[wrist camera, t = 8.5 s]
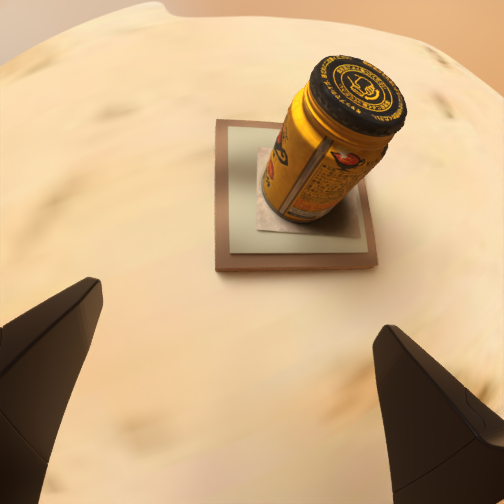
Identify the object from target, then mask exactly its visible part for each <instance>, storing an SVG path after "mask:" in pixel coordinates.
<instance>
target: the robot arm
mask: <svg viewBox="0 0 504 504" xmlns="http://www.w3.org/2000/svg"><path fill="white" fill-rule="evenodd" d="M102 307H103V295H102V285H101V281H100V280H99V279H97V278H92V277H87V278H85V279H83V280H81V281H79V282H77V283H76V284H74V285H72V286H70V287H68V288H67V289H65V290H63V291H61V292H60V293H58V294H56V295H54V296H53V297H51V298H49V299H47V300H46V301H44V302H42V303H40V304H39V305H37V306H35V307H34V308H32V309H30V310H29V311H27V312H25V313H24V314H22V315H20V316H19V317H17V318H15V319H14V320H12V321H10V322H9V323H7V324H5V325H4V326H3V328H2V327H0V504H38V502H39V498H40V494H41V490H42V486H43V482H44V478H45V474H46V470H47V467H48V464H47V463H49V459H50V456H51V452H52V449H53V446H54V442H55V439H56V436H57V433H58V430H59V427H60V424H61V421H62V418H63V415H64V412H65V410H66V407H67V404H68V401H69V399H70V396H71V393H72V391H73V388H74V385H75V383H76V380H77V378H78V375H79V373H80V370H81V368H82V365H83V363H84V361H85V358H86V356H87V353H88V351H89V348H90V345H91V342H92V338H93V335H94V332H95V329H96V325H97V322H98V319H99V316H100V313H101V310H102ZM373 357H374V366H375V376H376V385H377V391H378V397H379V402H380V407H381V413H382V419H383V425H384V431H385V437H386V444H387V450H388V458H389V465H390V473H391V482H392V491H393V503H394V504H504V420H503V419H502V418H501V417H499V416H498V415H497V414H496V413H495V412H493V411H492V410H491V409H490V408H488V407H487V406H486V405H485V404H484V403H482V402H481V401H480V400H479V399H478V398H477V397H476V396H475V395H473V394H472V393H471V392H470V391H469V390H468V389H467V388H466V387H464V385H463V384H461V383H460V382H459V381H458V380H457V379H456V378H455V377H454V376H453V375H452V374H450V373H449V372H448V371H447V370H446V369H445V368H444V367H443V366H442V365H440V364H439V363H438V362H437V361H436V360H435V359H434V358H433V357H431V356H430V355H429V354H428V353H427V352H426V351H425V350H424V349H422V348H421V347H420V346H419V345H418V344H417V343H416V342H414V341H413V340H412V339H411V338H410V337H409V336H408V335H406V334H405V333H404V332H403V331H402V330H401V329H399V328H398V327H397V326H395V325H384V326H383V327H382V329H381V331H380V332H379V334H378V336H377V337H376V339H375V340H374V343H373Z"/></svg>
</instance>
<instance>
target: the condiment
mask: <svg viewBox="0 0 504 504" xmlns="http://www.w3.org/2000/svg"><path fill="white" fill-rule="evenodd" d="M406 115H407V108H406V103H405V101H404V97H403V95H402V94H401V92H400V90H399V88H398V87H397V86H396V85H395V83H394V82H393V81H392V80H391V79H390V78H389V77H388V76H386V75H385V74H384V73H383V72H382V71H381V70H379V69H378V68H376V67H375V66H373V65H372V64H370V63H368V62H366V61H363V60H361V59H358V58H354V57H350V56H343V55H339V56H328V57H326V58H324V59H322V60H321V61H320V62H319V63H318V64H317V65H316V66H315V67H314V69H313V71H312V73H311V76H310V80H309V81H308V82H307V84H306V85H305V87H304V88H302V89H301V90H300V91H299V92H298V93H297V94H296V95H295V97H294V98H293V101H292V103H291V105H290V107H289V108H288V113H287V115H286V117H285V120H284V123H283V125H282V128H281V130H280V132H279V135H278V136H277V138H276V142H275V144H274V147H273V148H266V147H260V146H258V148H257V195H256V209H257V210H256V230H268V231H279V232H292V233H305V234H324V235H333V236H348V237H358V238H361V232H360V227H359V218H358V209H357V201H356V193H355V185H357V184H358V183H359V182H360V181H361V180H362V179H363V178H364V177H365V176H366V175H367V174H368V173H369V172H370V171H371V170H372V169H373V168H374V167H375V166H376V165H377V163H379V162H380V160H381V159H382V158H383V157H384V155H385V154H386V151H387V149H388V143H389V142H390V141H391V140H392V138H393V136H394V135H395V133H397V131H399V130H400V129H401V128H402V127H403V126H404V121H405V117H406Z"/></svg>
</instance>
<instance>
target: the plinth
mask: <svg viewBox="0 0 504 504" xmlns="http://www.w3.org/2000/svg"><path fill="white" fill-rule="evenodd" d="M282 125H283V123H275V122H262V121H246V120H223V119H216V135H215V271H259V270H315V269H354V268H372V267H374V266H377V265H378V261H377V254H376V246H375V239H374V232H373V226H372V220H371V214H370V208H369V202H368V197H367V192H366V187H365V182H364V178H363V179H362V180H361V181H360V182H359V183H358V184H357V185H355V193H356V201H357V209H358V218H359V227H360V232H361V238H358V237H348V236H333V235H324V234H305V233H292V232H279V231H268V230H256V210H257V209H256V195H257V148H258V146H260V147H266V148H273V147H274V144H275V142H276V138H277V136H278V135H279V132H280V130H281V128H282Z"/></svg>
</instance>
